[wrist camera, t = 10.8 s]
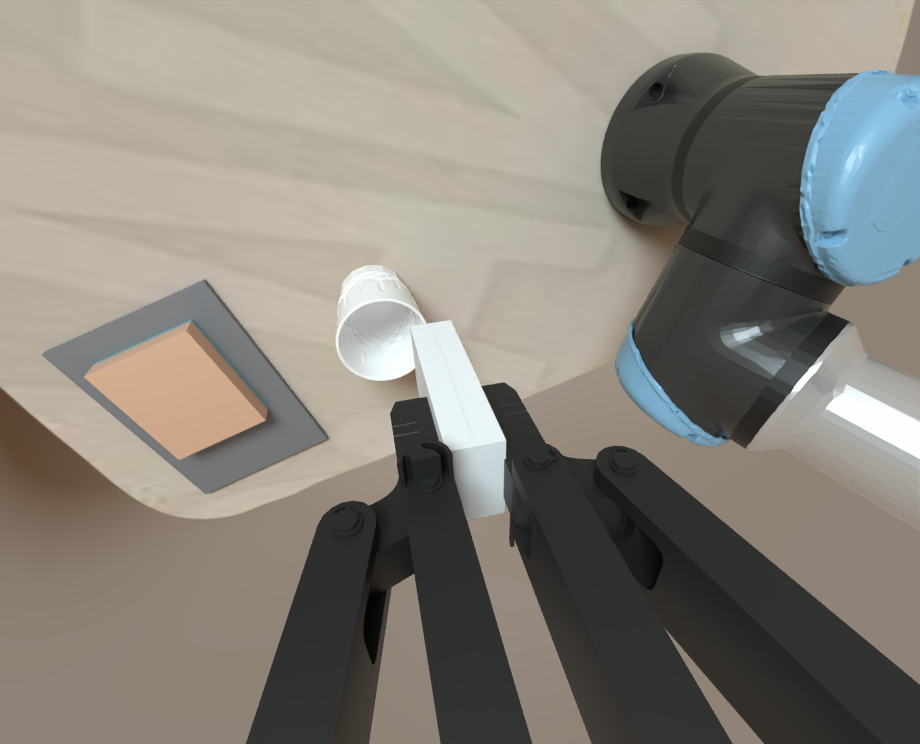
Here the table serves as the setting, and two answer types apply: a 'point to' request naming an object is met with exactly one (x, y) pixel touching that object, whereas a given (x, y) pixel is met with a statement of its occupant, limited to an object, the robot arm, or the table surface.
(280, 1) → the table surface
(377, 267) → the white cup
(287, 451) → the mat
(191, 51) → the table surface
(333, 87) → the table surface
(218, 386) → the tile
